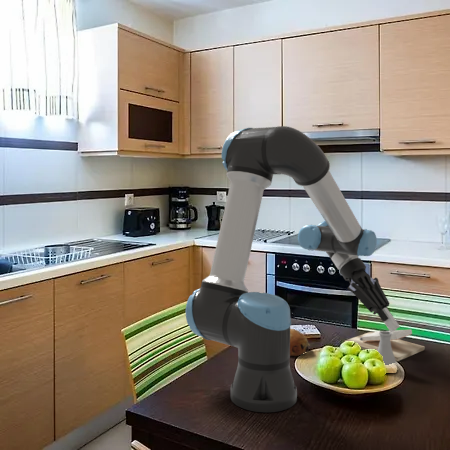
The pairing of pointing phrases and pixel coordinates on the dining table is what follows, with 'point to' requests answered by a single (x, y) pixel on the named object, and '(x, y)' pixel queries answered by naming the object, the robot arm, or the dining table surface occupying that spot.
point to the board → (398, 346)
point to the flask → (386, 347)
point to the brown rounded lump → (298, 343)
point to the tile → (395, 335)
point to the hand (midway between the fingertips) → (395, 329)
